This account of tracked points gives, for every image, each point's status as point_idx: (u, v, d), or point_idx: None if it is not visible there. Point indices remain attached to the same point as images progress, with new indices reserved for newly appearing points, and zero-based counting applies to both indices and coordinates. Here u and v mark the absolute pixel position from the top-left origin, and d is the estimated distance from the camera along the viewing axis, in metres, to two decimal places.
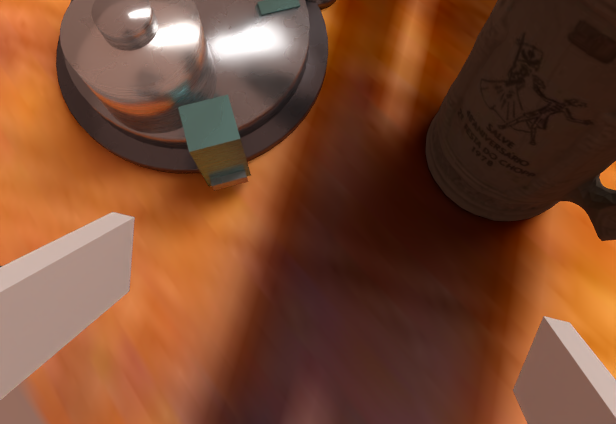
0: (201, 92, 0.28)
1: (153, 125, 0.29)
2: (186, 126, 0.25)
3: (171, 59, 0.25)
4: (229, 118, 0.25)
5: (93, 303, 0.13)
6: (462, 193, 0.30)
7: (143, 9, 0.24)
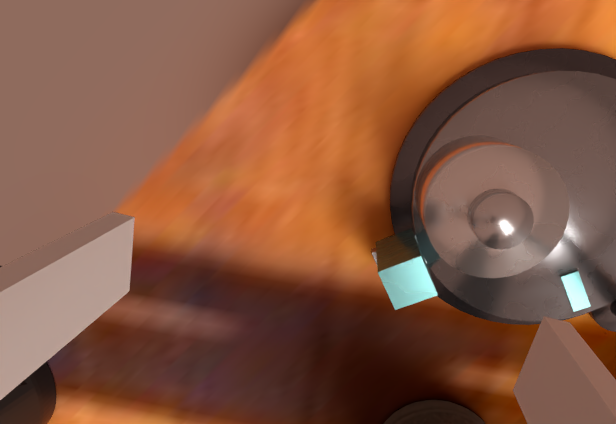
0: None
1: (417, 207, 0.30)
2: (401, 266, 0.29)
3: (460, 259, 0.26)
4: (413, 299, 0.29)
5: (94, 303, 0.13)
6: None
7: (504, 243, 0.24)
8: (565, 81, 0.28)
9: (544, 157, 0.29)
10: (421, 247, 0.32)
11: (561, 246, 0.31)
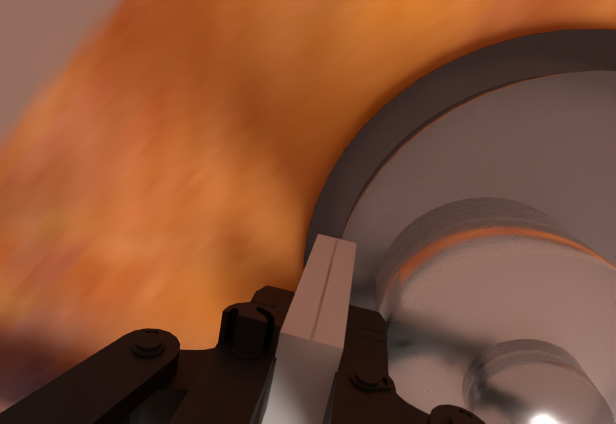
0: None
1: None
2: None
3: None
4: None
5: None
6: None
7: None
8: (613, 91, 0.14)
9: None
10: None
11: None
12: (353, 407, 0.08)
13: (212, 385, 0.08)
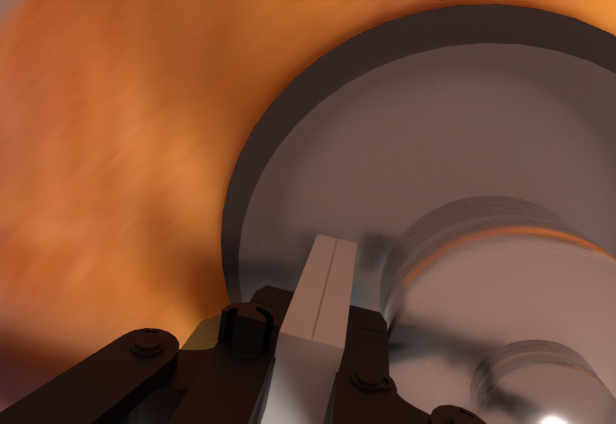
0: None
1: None
2: None
3: None
4: None
5: None
6: None
7: None
8: (494, 64, 0.15)
9: None
10: None
11: None
12: (354, 407, 0.08)
13: (211, 385, 0.08)
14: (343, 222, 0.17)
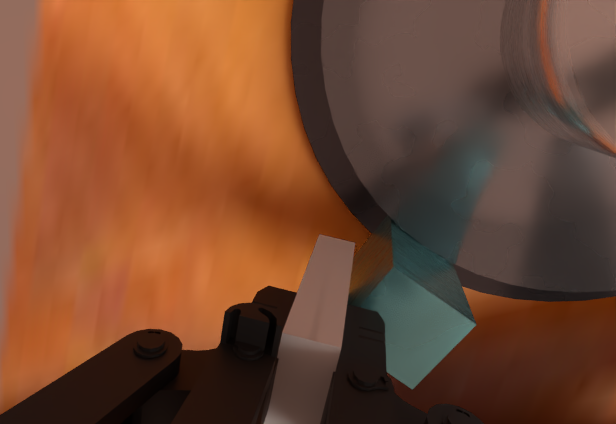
0: None
1: (535, 112, 0.14)
2: (370, 303, 0.13)
3: None
4: (433, 354, 0.13)
5: None
6: None
7: None
8: None
9: None
10: (416, 237, 0.17)
11: None
12: (351, 407, 0.08)
13: (214, 386, 0.08)
14: (430, 47, 0.15)
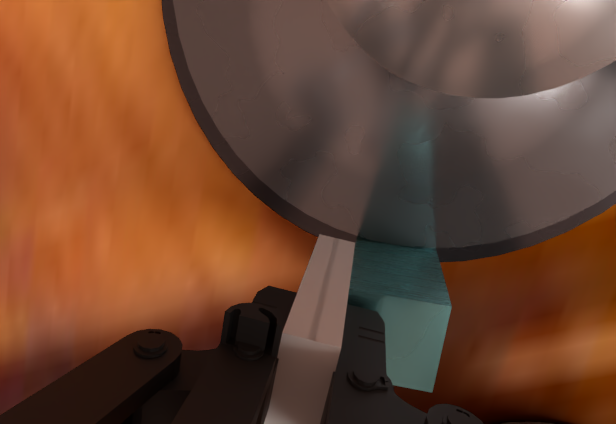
0: None
1: None
2: None
3: (574, 45, 0.09)
4: (431, 351, 0.13)
5: None
6: None
7: None
8: None
9: None
10: (386, 240, 0.16)
11: None
12: (351, 406, 0.08)
13: (214, 385, 0.08)
14: (300, 74, 0.15)
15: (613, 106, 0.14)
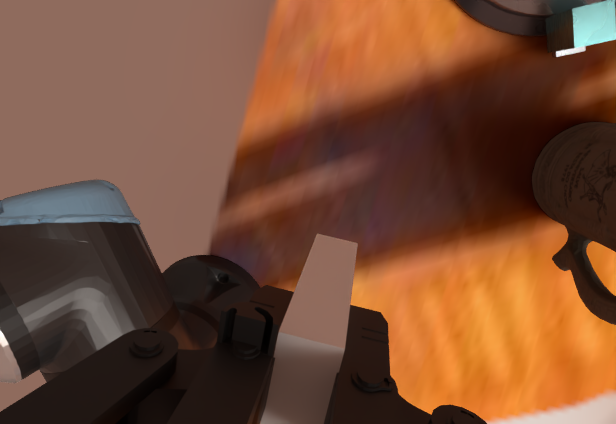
0: None
1: None
2: (576, 26, 0.35)
3: None
4: (611, 20, 0.34)
5: None
6: (540, 171, 0.43)
7: None
8: None
9: None
10: (566, 11, 0.38)
11: None
12: (355, 407, 0.08)
13: (210, 385, 0.08)
14: None
15: None
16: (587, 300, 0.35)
